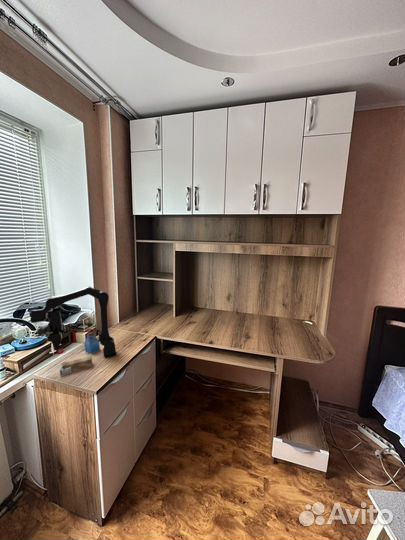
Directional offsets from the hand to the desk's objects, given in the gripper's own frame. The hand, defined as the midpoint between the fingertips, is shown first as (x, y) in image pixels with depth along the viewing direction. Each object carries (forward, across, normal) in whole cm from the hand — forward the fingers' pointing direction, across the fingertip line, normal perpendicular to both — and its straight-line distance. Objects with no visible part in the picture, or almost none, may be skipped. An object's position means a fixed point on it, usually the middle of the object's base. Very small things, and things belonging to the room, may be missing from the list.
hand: (58, 346), depth 126 cm
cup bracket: (+12, +7, +4) cm, 14 cm away
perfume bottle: (+12, -12, +16) cm, 24 cm away
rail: (+12, +7, +9) cm, 17 cm away
